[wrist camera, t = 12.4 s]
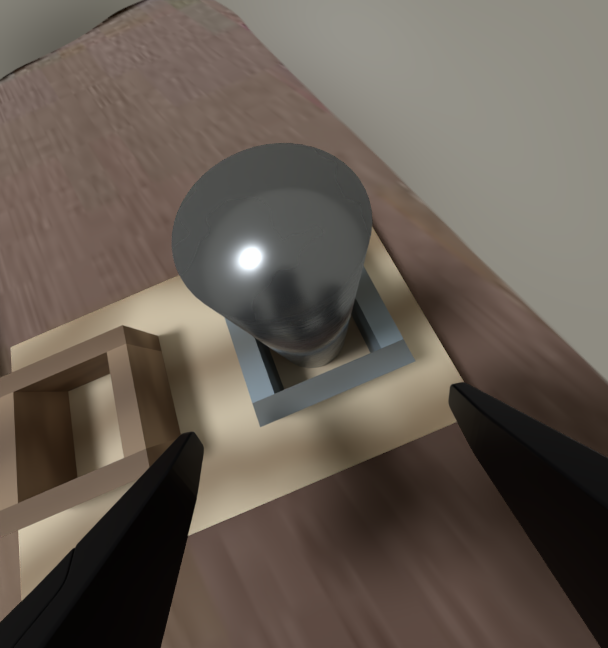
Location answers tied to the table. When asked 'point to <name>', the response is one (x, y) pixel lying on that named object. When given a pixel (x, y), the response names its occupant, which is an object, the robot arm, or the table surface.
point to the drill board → (204, 407)
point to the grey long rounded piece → (277, 247)
